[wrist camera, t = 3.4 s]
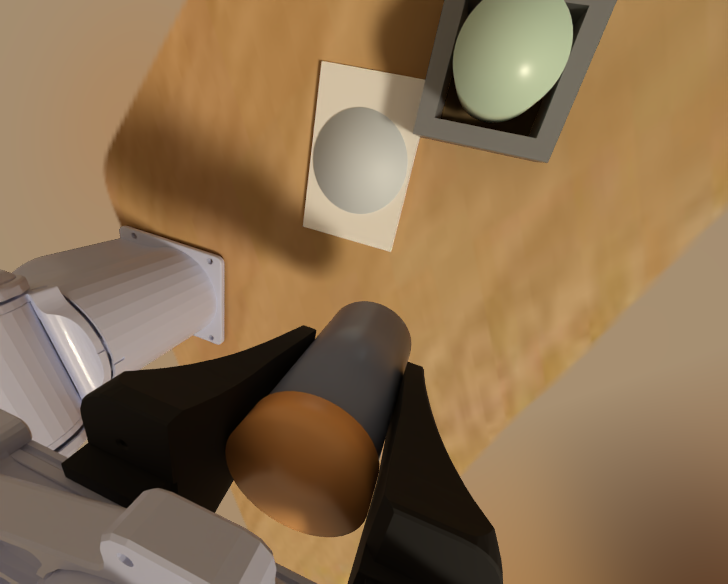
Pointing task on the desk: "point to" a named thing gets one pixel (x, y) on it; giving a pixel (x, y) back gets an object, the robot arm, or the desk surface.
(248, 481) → the orange-capped grey cylinder
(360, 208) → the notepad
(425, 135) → the button housing
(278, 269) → the desk surface
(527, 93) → the button
